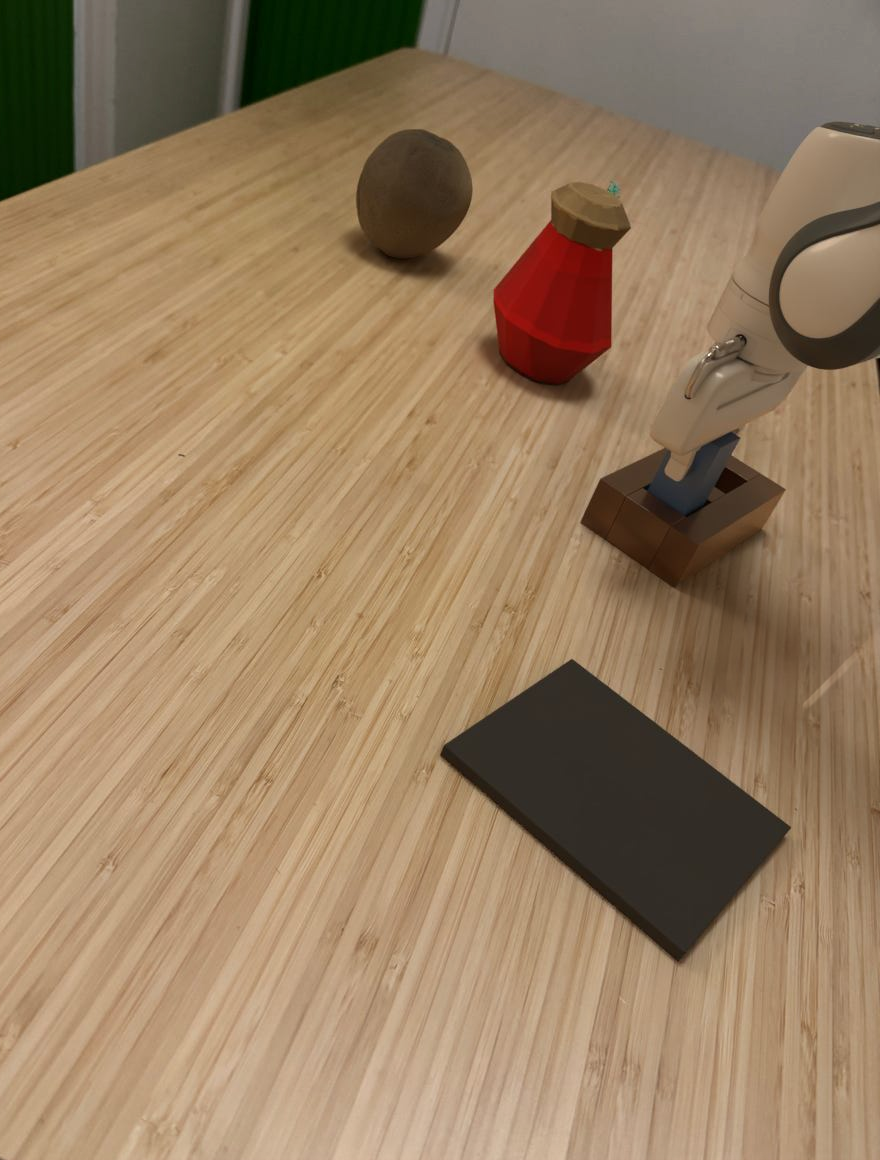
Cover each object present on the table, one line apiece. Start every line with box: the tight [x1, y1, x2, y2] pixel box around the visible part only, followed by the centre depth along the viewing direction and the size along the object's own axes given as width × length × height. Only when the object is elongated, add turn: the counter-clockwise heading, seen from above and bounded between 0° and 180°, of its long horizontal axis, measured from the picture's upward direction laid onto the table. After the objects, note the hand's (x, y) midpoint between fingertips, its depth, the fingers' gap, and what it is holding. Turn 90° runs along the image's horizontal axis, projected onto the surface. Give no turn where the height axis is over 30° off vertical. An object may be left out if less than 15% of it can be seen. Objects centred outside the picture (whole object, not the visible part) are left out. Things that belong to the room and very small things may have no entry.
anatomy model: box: [583, 179, 622, 200], centre depth 174 cm, size 5×8×7 cm
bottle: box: [492, 181, 632, 387], centre depth 116 cm, size 16×14×20 cm
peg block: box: [580, 447, 787, 588], centre depth 101 cm, size 11×19×5 cm, turn 137°
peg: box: [648, 432, 741, 517], centre depth 96 cm, size 4×4×12 cm
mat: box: [439, 658, 792, 962], centre depth 72 cm, size 20×16×1 cm
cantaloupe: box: [355, 128, 474, 259], centre depth 132 cm, size 14×14×15 cm
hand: (692, 467), depth 95 cm, fingers open, 5 cm apart
